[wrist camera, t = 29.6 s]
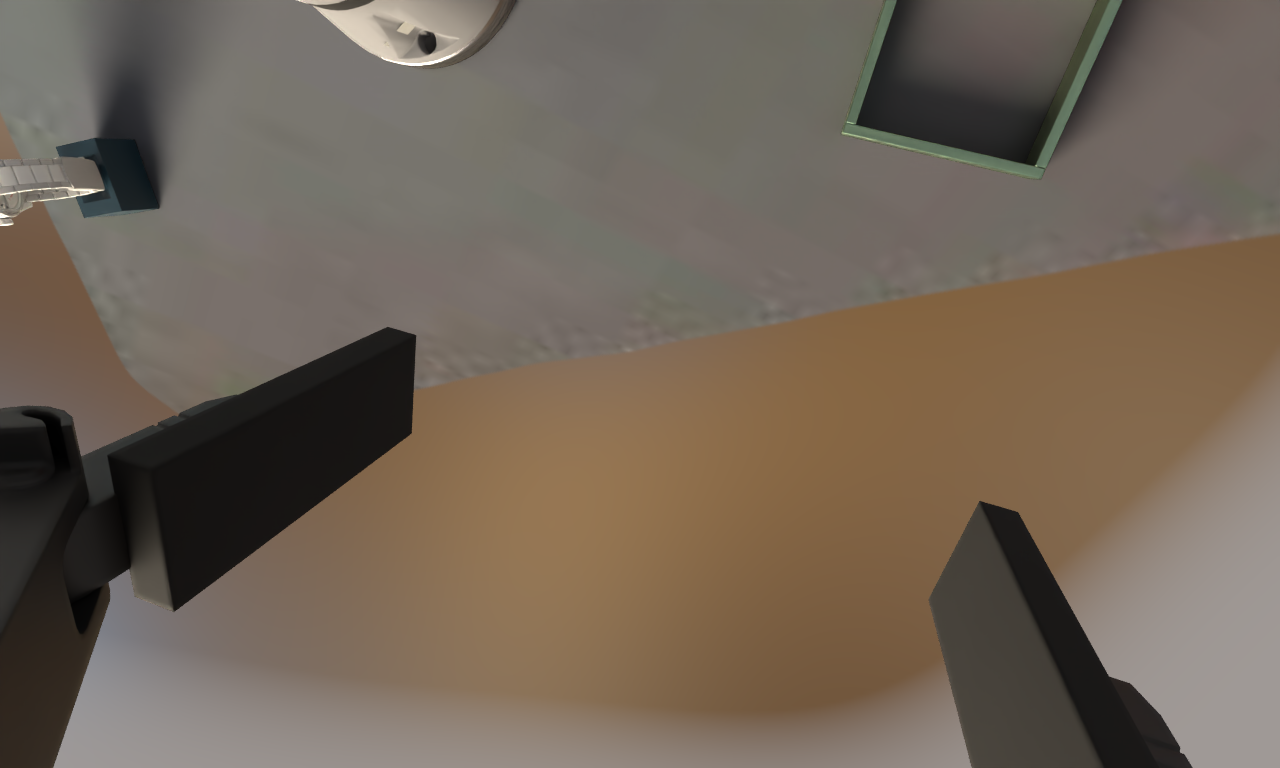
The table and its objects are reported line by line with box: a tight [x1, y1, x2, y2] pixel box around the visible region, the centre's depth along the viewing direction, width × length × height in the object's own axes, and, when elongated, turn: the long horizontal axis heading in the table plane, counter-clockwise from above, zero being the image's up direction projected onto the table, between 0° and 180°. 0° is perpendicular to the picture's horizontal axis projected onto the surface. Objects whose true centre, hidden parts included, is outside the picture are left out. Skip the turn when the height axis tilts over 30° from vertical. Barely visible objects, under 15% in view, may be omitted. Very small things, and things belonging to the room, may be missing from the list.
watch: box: [0, 138, 159, 225], centre depth 47 cm, size 6×8×11 cm
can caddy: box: [841, 0, 1123, 179], centre depth 34 cm, size 11×11×2 cm
